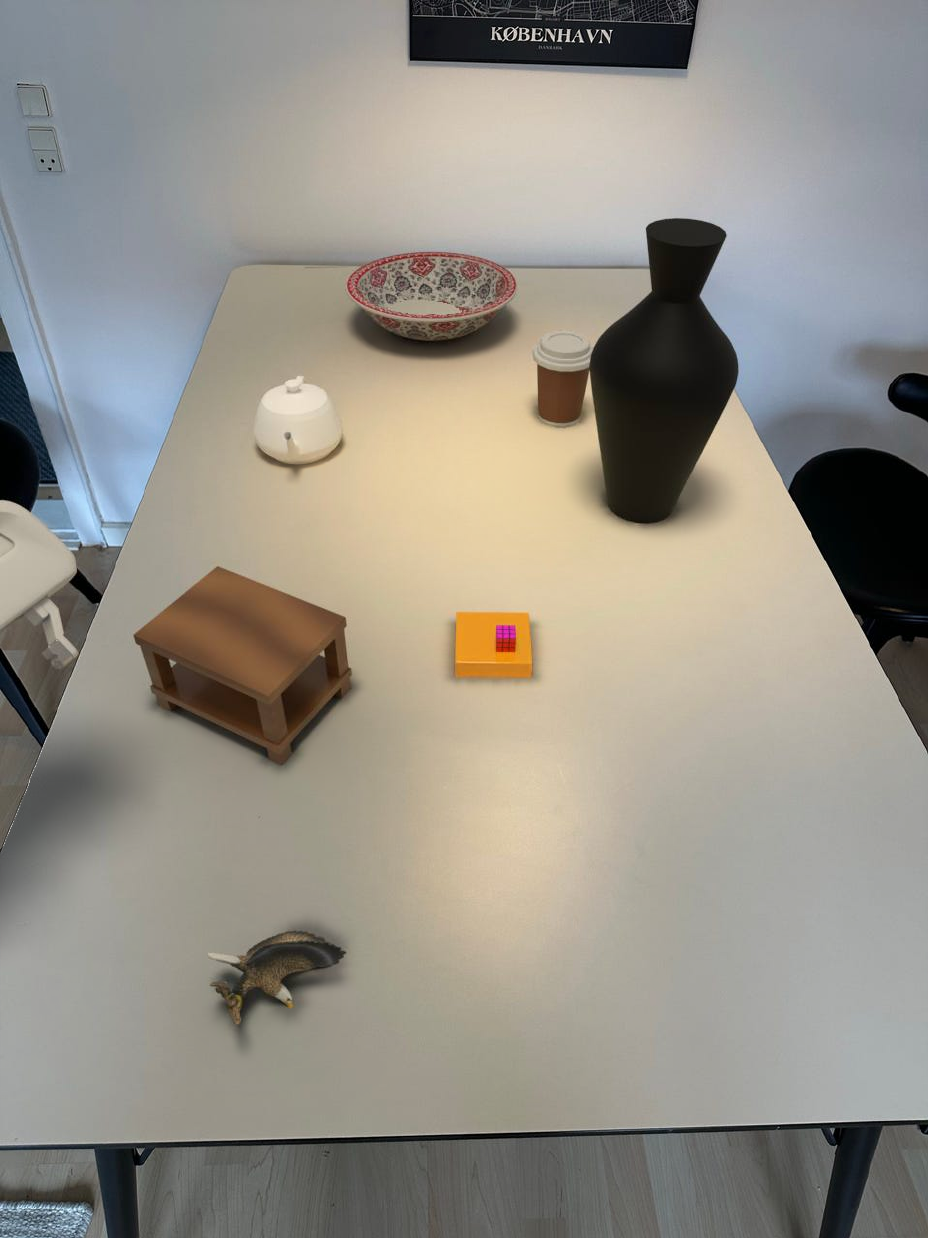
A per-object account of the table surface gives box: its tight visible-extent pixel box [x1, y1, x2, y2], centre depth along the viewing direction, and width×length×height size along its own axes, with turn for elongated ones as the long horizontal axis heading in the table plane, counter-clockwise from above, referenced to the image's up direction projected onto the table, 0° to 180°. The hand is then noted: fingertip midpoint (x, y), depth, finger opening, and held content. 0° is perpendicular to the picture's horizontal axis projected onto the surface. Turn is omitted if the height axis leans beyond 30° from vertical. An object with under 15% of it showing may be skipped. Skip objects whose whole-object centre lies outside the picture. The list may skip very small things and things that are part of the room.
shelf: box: [132, 565, 353, 766], centre depth 89 cm, size 12×16×10 cm
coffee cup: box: [532, 330, 594, 428], centre depth 132 cm, size 9×9×12 cm
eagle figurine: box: [207, 930, 347, 1027], centre depth 68 cm, size 8×7×9 cm
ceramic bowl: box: [345, 251, 518, 341], centre depth 156 cm, size 29×29×8 cm
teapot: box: [252, 375, 344, 465], centre depth 125 cm, size 20×12×10 cm, turn 3°
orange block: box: [454, 611, 533, 679], centre depth 97 cm, size 8×8×4 cm
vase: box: [589, 217, 740, 525], centre depth 107 cm, size 17×17×35 cm
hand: (17, 704), depth 63 cm, fingers open, 8 cm apart
